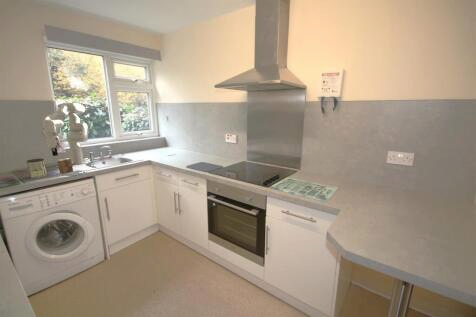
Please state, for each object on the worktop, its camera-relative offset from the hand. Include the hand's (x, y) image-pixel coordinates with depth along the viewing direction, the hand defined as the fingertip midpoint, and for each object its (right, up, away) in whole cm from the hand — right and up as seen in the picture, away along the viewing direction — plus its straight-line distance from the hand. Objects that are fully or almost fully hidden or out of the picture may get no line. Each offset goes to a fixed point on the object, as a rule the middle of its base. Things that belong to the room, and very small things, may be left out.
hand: (55, 155), depth 189 cm
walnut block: (+9, -15, +1) cm, 17 cm away
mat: (+19, -15, -1) cm, 24 cm away
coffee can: (-6, -18, -9) cm, 21 cm away
